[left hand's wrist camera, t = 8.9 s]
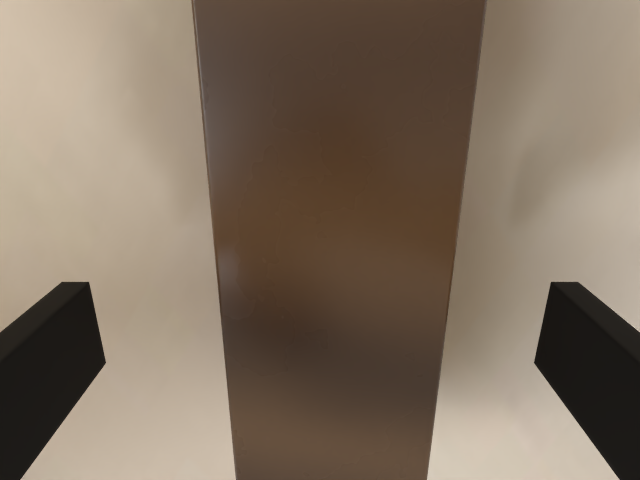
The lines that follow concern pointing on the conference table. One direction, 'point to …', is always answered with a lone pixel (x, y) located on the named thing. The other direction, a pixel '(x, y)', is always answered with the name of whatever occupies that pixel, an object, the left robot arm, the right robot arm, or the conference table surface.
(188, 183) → the conference table surface
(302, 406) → the beam
